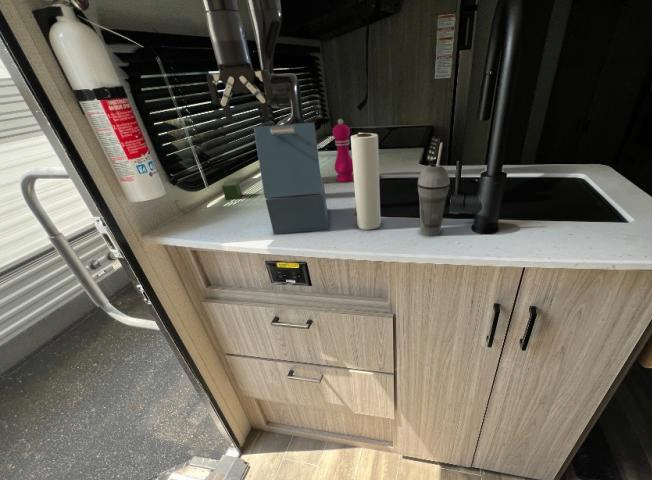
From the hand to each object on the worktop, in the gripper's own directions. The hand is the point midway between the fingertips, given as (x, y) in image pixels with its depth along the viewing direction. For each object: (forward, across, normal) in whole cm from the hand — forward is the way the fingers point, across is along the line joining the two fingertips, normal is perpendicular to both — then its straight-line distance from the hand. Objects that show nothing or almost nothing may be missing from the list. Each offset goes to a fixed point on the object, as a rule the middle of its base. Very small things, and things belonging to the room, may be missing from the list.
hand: (249, 121), depth 81 cm
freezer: (+24, -10, +10) cm, 27 cm away
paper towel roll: (+24, -28, +17) cm, 40 cm away
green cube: (+24, +15, -18) cm, 34 cm away
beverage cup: (+24, -42, +25) cm, 54 cm away
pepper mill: (+24, -24, -27) cm, 44 cm away
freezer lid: (+7, -10, +14) cm, 18 cm away
